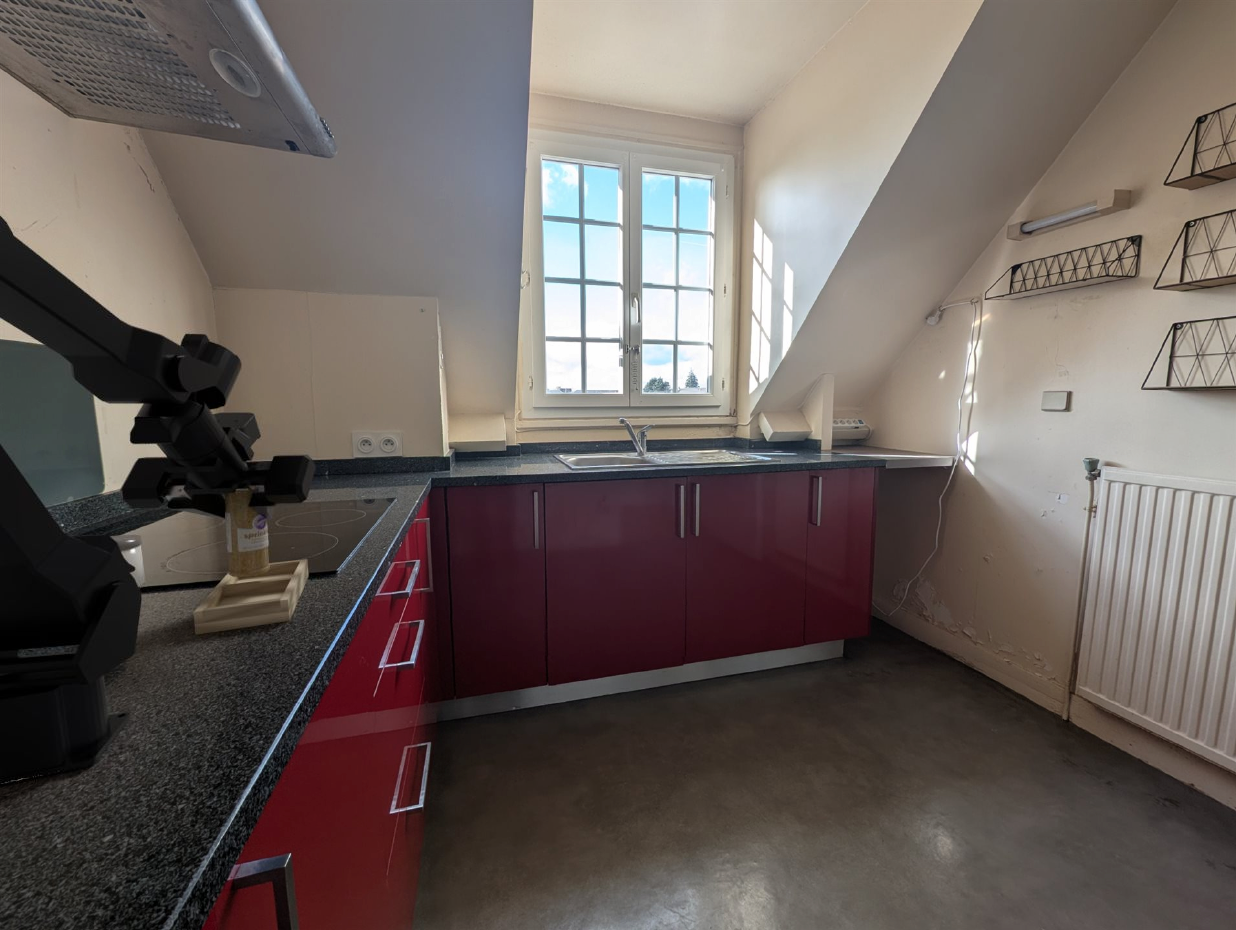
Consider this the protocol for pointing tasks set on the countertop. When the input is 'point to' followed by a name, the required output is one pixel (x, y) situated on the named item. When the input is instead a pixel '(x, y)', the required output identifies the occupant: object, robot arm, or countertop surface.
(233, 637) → the countertop surface
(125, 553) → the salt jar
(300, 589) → the caddy
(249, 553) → the sprinkles bottle
